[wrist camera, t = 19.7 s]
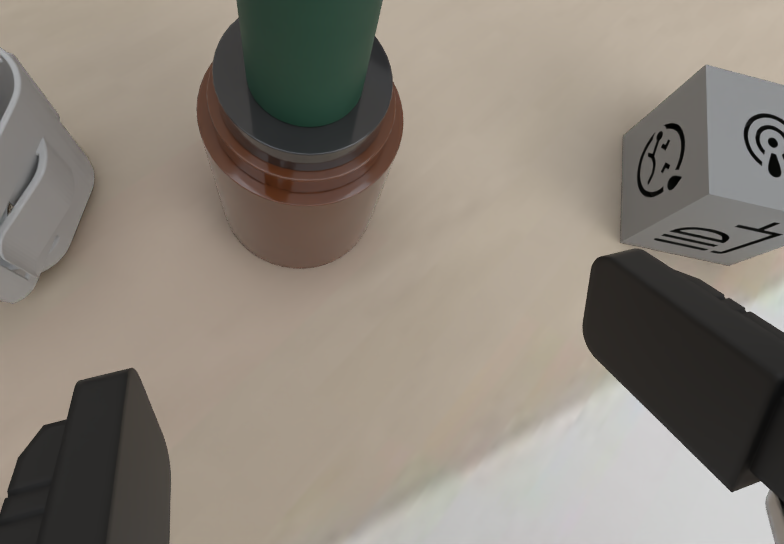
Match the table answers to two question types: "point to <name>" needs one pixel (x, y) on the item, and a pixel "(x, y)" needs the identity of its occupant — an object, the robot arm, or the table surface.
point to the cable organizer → (35, 182)
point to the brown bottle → (296, 162)
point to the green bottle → (307, 56)
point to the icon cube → (708, 170)
